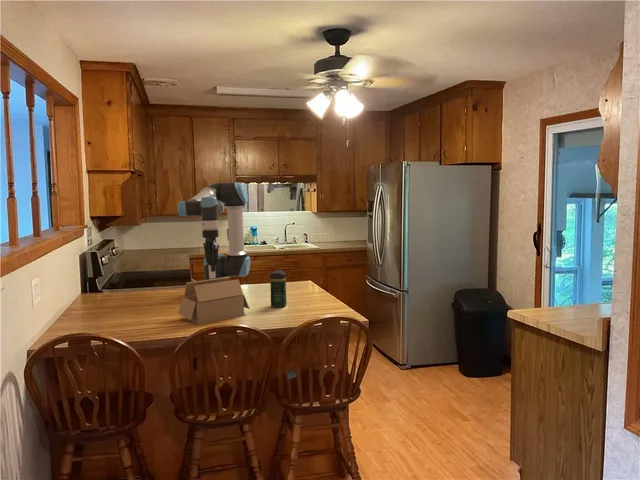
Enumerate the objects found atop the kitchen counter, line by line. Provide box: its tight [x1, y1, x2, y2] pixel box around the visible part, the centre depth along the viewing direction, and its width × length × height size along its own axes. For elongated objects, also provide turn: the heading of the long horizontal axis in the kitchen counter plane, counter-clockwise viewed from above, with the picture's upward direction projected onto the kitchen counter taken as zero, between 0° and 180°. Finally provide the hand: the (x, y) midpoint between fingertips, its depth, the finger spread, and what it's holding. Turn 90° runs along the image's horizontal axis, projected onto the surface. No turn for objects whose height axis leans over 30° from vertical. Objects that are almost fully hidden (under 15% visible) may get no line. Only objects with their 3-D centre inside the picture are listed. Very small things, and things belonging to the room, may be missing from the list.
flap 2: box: [194, 279, 244, 302], centre depth 241 cm, size 1×23×8 cm, turn 126°
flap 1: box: [183, 277, 231, 297], centre depth 252 cm, size 1×23×8 cm
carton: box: [177, 294, 250, 326], centre depth 248 cm, size 16×31×10 cm, turn 127°
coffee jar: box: [269, 269, 288, 309], centre depth 265 cm, size 10×8×19 cm
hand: (212, 278), depth 246 cm, fingers closed
